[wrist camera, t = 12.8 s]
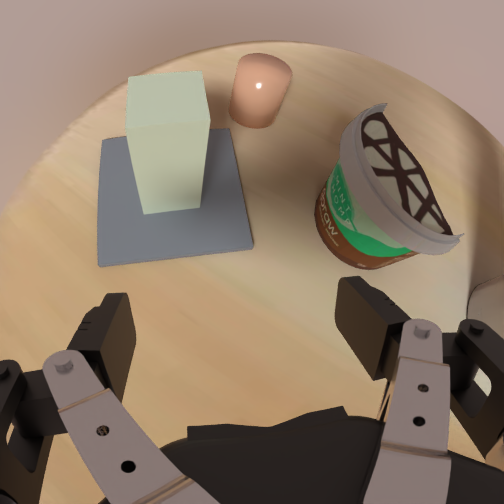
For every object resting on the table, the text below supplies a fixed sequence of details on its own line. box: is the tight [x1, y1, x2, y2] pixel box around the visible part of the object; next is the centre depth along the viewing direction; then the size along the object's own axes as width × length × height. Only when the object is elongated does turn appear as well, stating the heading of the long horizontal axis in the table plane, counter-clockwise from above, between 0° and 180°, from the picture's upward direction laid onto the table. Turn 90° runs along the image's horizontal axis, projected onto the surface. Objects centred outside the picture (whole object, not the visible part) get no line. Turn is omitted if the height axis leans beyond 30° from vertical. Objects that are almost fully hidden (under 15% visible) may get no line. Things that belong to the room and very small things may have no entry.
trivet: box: [97, 128, 253, 267], centre depth 25 cm, size 12×12×1 cm
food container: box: [314, 103, 464, 270], centre depth 23 cm, size 12×6×10 cm, turn 21°
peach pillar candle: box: [229, 53, 292, 128], centre depth 27 cm, size 5×5×6 cm
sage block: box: [125, 71, 211, 215], centre depth 20 cm, size 4×4×10 cm
